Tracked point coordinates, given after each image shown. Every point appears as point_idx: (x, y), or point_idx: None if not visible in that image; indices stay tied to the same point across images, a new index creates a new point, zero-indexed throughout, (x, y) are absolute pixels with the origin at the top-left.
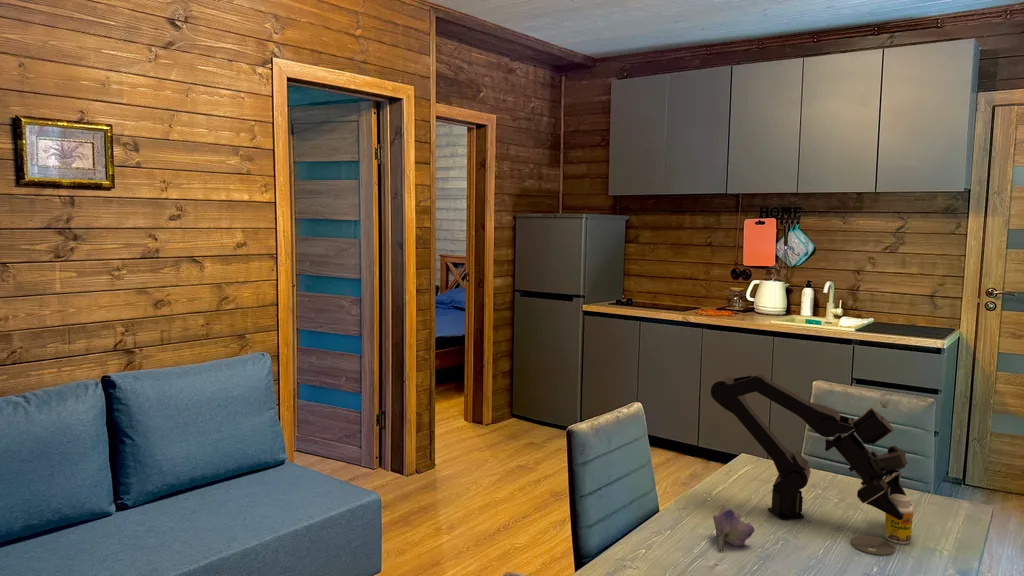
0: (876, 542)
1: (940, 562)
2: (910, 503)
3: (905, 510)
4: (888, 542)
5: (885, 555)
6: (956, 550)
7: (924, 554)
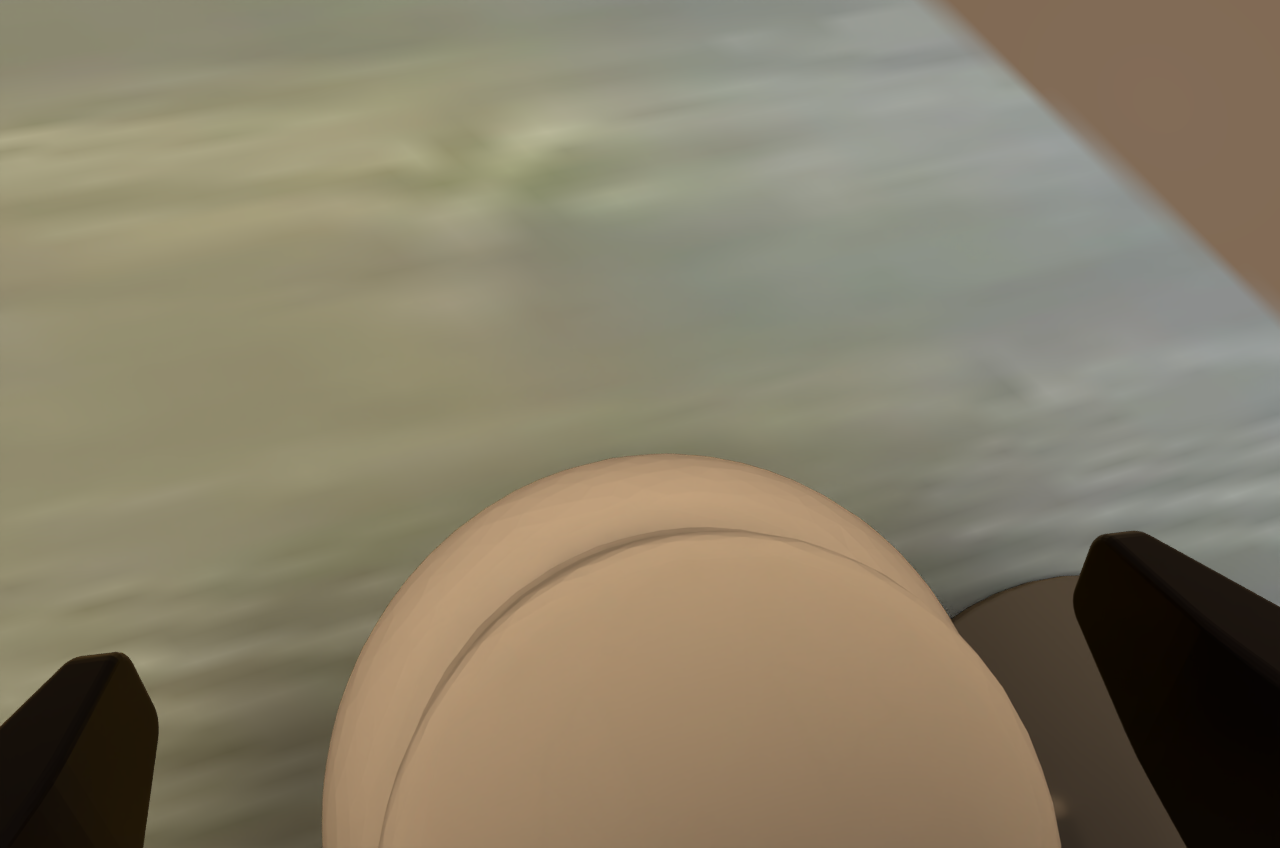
0: None
1: (894, 112)
2: (51, 687)
3: (914, 570)
4: None
5: None
6: (389, 41)
7: (814, 294)
